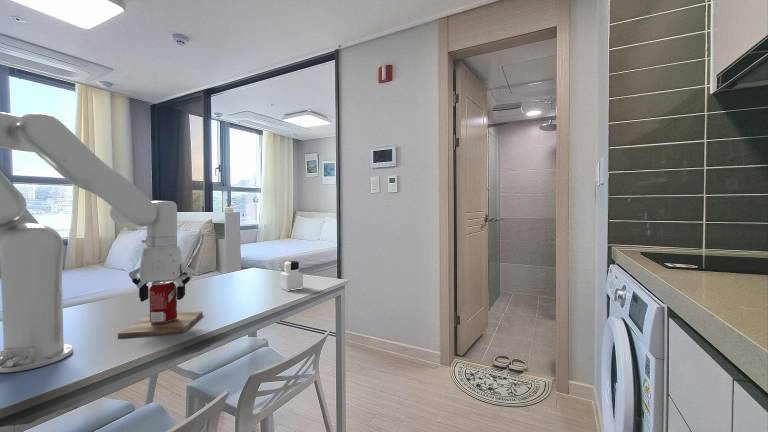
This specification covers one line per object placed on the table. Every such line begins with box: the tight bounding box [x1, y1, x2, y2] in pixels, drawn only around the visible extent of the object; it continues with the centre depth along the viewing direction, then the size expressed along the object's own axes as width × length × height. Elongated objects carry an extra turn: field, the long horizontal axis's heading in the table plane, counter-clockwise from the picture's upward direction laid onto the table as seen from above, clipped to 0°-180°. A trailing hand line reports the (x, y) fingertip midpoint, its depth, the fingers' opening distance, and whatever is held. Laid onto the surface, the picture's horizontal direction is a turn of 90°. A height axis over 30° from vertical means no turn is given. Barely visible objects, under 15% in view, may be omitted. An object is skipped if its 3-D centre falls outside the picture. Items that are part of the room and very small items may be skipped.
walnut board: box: [117, 311, 203, 339], centre depth 98 cm, size 16×16×1 cm
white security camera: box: [280, 260, 304, 290], centre depth 142 cm, size 7×7×12 cm
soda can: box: [148, 281, 178, 324], centre depth 98 cm, size 7×7×12 cm
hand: (162, 299), depth 98 cm, fingers open, 9 cm apart
